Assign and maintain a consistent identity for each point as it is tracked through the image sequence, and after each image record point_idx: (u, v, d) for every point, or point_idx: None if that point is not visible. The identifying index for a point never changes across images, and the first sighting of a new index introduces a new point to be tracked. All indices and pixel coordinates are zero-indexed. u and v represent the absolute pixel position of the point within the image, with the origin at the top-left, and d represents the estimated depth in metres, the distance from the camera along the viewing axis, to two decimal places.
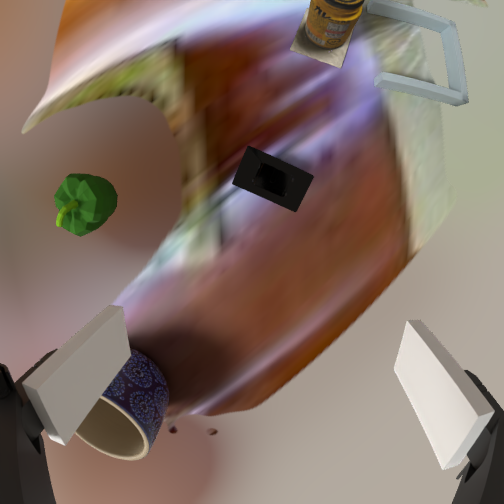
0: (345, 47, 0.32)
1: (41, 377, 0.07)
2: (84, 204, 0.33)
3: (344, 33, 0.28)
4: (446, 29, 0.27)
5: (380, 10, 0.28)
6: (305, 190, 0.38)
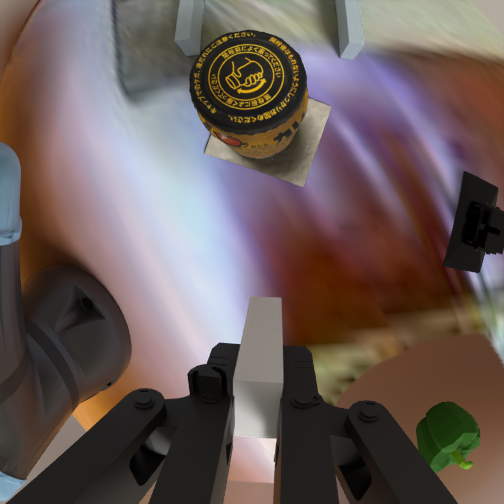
0: None
1: (251, 369, 0.09)
2: (463, 443, 0.21)
3: None
4: None
5: (196, 32, 0.19)
6: (479, 179, 0.22)
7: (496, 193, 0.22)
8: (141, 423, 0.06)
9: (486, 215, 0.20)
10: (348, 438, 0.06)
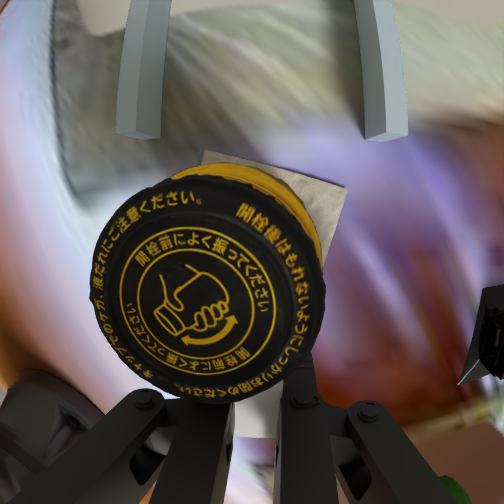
0: (284, 174, 0.16)
1: None
2: None
3: None
4: None
5: (151, 106, 0.14)
6: (500, 287, 0.17)
7: None
8: (141, 423, 0.06)
9: None
10: (348, 438, 0.06)
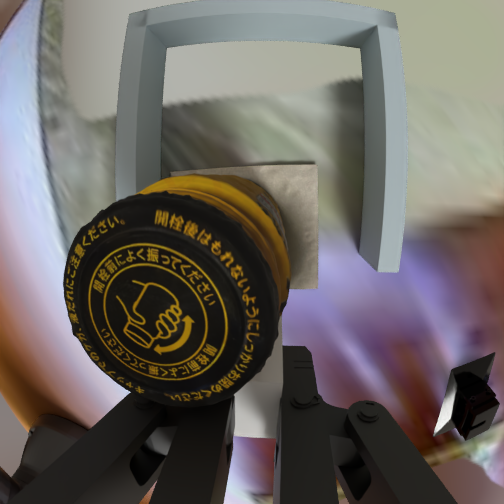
0: (251, 170, 0.16)
1: None
2: None
3: (261, 194, 0.12)
4: (158, 34, 0.13)
5: None
6: (470, 363, 0.19)
7: (492, 358, 0.19)
8: (141, 423, 0.06)
9: None
10: (347, 439, 0.06)
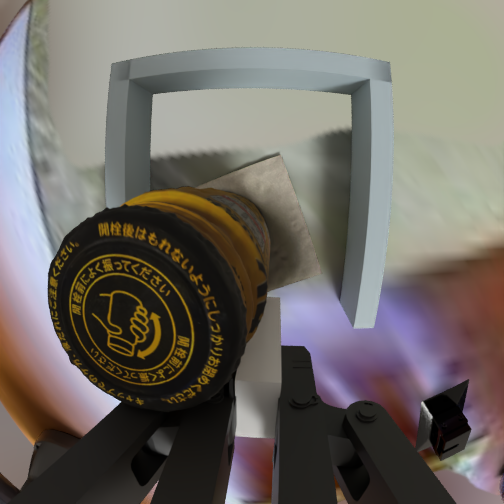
0: (221, 181, 0.17)
1: (253, 369, 0.09)
2: None
3: (226, 196, 0.12)
4: (142, 85, 0.14)
5: None
6: (441, 394, 0.21)
7: (466, 386, 0.20)
8: (143, 423, 0.06)
9: None
10: (346, 439, 0.06)
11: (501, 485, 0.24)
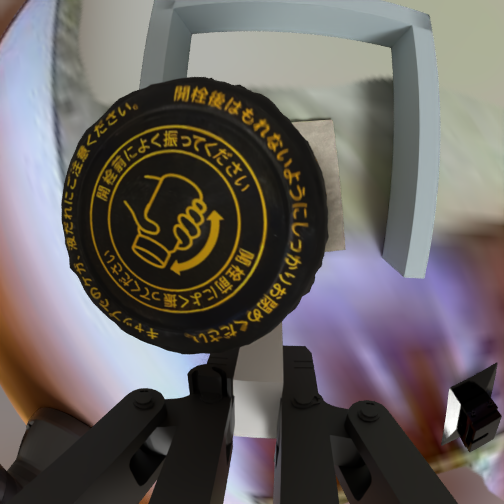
0: None
1: (251, 369, 0.09)
2: None
3: None
4: (184, 19, 0.12)
5: None
6: (470, 379, 0.18)
7: (494, 370, 0.18)
8: (141, 423, 0.06)
9: None
10: (348, 438, 0.06)
11: None
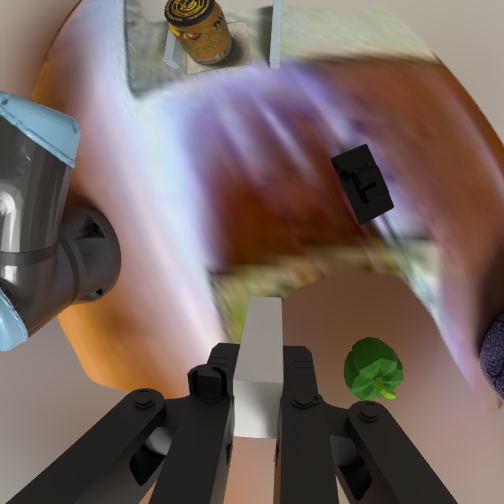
0: None
1: (251, 369, 0.09)
2: (382, 369, 0.34)
3: None
4: None
5: (178, 53, 0.31)
6: (346, 153, 0.35)
7: (367, 148, 0.35)
8: (141, 423, 0.06)
9: None
10: (348, 439, 0.06)
11: (481, 358, 0.38)
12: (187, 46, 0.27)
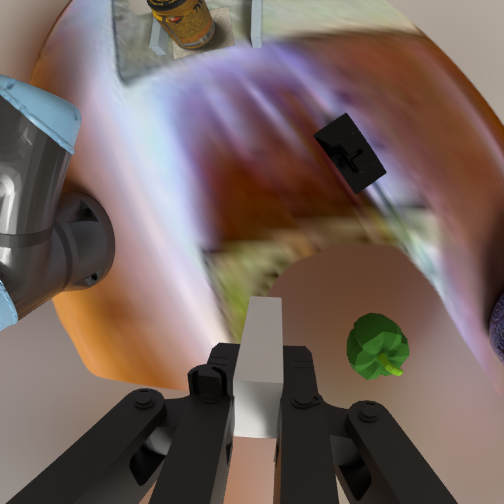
0: None
1: (251, 369, 0.09)
2: (386, 344, 0.33)
3: None
4: None
5: (163, 40, 0.31)
6: (328, 127, 0.34)
7: (348, 119, 0.34)
8: (141, 423, 0.06)
9: None
10: (348, 438, 0.06)
11: (490, 334, 0.36)
12: (171, 30, 0.27)
